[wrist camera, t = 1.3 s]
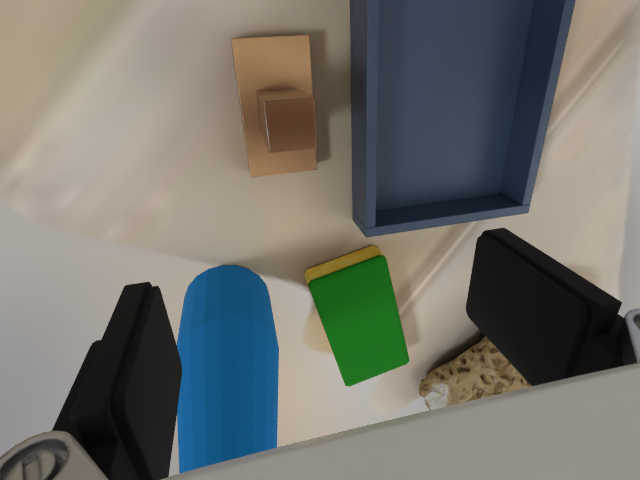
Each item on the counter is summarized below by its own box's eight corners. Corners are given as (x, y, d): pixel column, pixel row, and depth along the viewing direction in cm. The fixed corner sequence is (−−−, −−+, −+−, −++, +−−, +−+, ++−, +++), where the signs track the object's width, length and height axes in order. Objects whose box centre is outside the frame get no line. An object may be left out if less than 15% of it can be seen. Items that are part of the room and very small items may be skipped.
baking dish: (347, -198, 21) (368, -242, 18) (572, -186, 23) (625, -222, 20) (352, 219, 33) (366, 237, 30) (501, 198, 35) (528, 213, 32)
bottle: (219, 249, 31) (165, 1376, 5) (285, 291, 35) (472, 1096, 8) (167, 309, 33) (-91, 1418, 6) (236, 344, 36) (255, 1168, 10)
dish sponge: (376, 242, 34) (385, 255, 32) (401, 347, 41) (410, 363, 39) (302, 270, 34) (308, 284, 32) (340, 370, 41) (346, 388, 39)
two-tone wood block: (230, 39, 25) (232, 35, 18) (305, 35, 26) (332, 30, 19) (249, 171, 29) (256, 207, 22) (313, 164, 30) (337, 196, 23)
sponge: (437, 404, 49) (596, 348, 44) (453, 461, 42) (645, 400, 37) (392, 332, 45) (563, 260, 40) (402, 381, 38) (611, 300, 33)
